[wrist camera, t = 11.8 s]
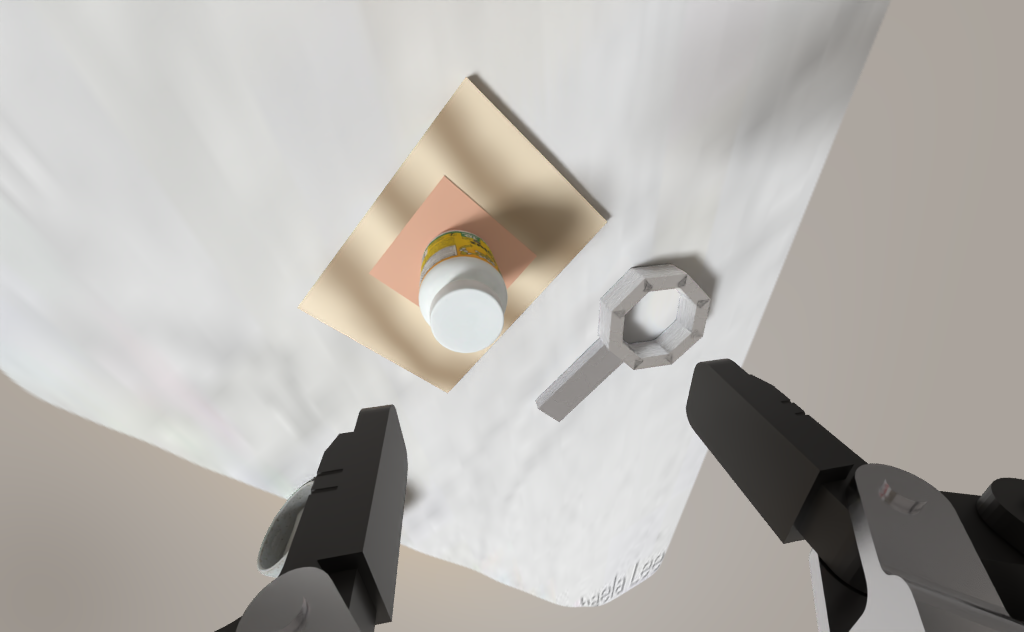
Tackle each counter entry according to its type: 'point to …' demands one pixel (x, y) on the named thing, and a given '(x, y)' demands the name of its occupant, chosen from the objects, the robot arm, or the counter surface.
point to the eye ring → (636, 355)
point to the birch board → (452, 206)
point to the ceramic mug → (282, 533)
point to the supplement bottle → (462, 292)
